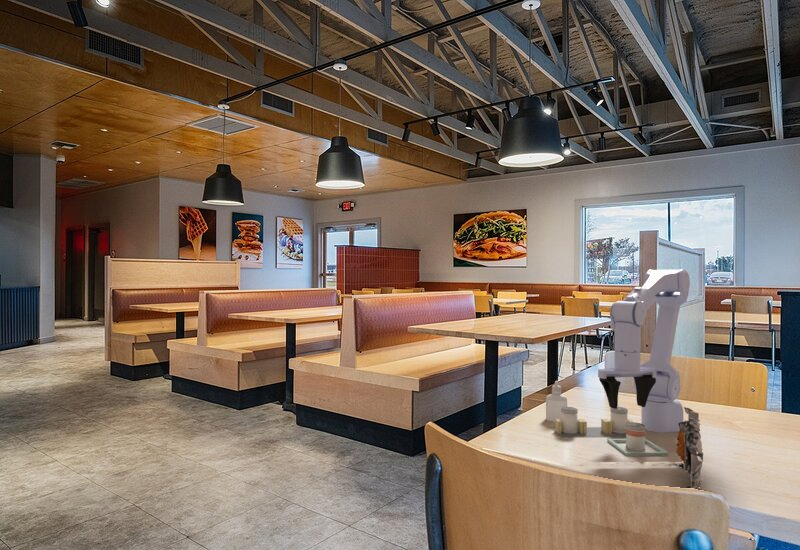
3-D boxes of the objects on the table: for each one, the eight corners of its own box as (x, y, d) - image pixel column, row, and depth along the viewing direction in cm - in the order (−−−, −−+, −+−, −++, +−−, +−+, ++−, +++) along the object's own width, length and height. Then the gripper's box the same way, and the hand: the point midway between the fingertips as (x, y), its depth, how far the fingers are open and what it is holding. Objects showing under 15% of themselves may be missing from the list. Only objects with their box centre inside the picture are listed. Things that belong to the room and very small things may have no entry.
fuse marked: (649, 452, 115) (649, 426, 115) (635, 454, 114) (635, 428, 114) (635, 446, 119) (635, 421, 119) (621, 448, 117) (622, 423, 117)
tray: (646, 446, 121) (646, 438, 121) (668, 460, 111) (668, 452, 111) (607, 446, 121) (607, 438, 121) (626, 461, 111) (626, 453, 111)
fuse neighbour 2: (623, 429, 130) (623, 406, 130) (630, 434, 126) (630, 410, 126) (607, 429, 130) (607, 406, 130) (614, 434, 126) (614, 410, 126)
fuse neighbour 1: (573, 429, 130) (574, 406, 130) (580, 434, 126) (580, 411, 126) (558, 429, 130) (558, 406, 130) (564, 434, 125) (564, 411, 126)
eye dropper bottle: (562, 428, 135) (562, 384, 135) (543, 423, 139) (543, 381, 139) (569, 424, 138) (569, 381, 138) (550, 420, 142) (550, 378, 142)
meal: (674, 465, 109) (674, 405, 109) (697, 469, 107) (697, 408, 107) (677, 492, 95) (678, 424, 95) (703, 496, 93) (704, 427, 93)
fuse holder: (624, 431, 132) (624, 415, 132) (640, 441, 124) (640, 424, 124) (550, 431, 132) (550, 416, 132) (561, 442, 124) (561, 425, 124)
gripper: (642, 347, 125) (642, 401, 125) (590, 349, 122) (590, 404, 122) (662, 351, 118) (662, 408, 118) (608, 353, 115) (608, 411, 115)
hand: (627, 406), depth 120 cm, fingers open, 7 cm apart
